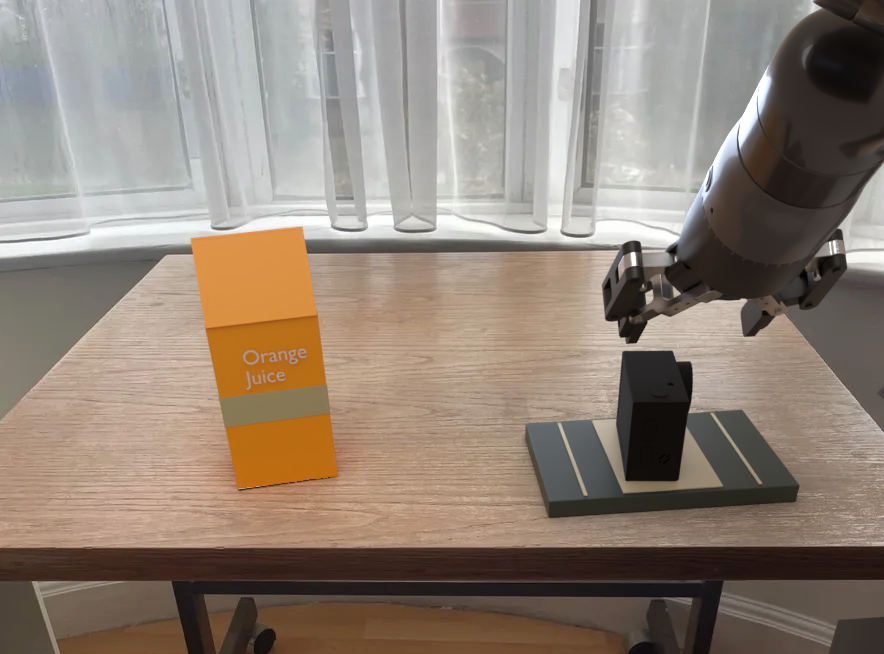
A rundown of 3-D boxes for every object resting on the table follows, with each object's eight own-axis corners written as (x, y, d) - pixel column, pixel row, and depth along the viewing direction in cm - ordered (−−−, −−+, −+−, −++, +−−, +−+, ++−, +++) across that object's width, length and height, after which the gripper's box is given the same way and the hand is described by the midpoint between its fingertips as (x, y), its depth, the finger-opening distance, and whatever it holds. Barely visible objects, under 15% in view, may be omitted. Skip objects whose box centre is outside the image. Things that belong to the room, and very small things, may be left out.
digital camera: (694, 482, 72) (706, 401, 68) (625, 482, 73) (633, 401, 68) (677, 424, 80) (687, 348, 76) (615, 424, 81) (622, 349, 77)
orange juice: (234, 450, 83) (189, 225, 71) (328, 437, 85) (299, 214, 73) (237, 491, 77) (188, 252, 65) (339, 477, 79) (309, 240, 66)
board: (739, 424, 83) (742, 408, 82) (796, 501, 72) (800, 484, 71) (525, 437, 83) (525, 422, 82) (548, 517, 72) (549, 500, 71)
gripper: (650, 269, 48) (594, 383, 64) (912, 253, 48) (792, 371, 64) (636, 141, 49) (585, 285, 65) (893, 126, 49) (779, 273, 65)
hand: (688, 328), depth 65 cm, fingers open, 8 cm apart
